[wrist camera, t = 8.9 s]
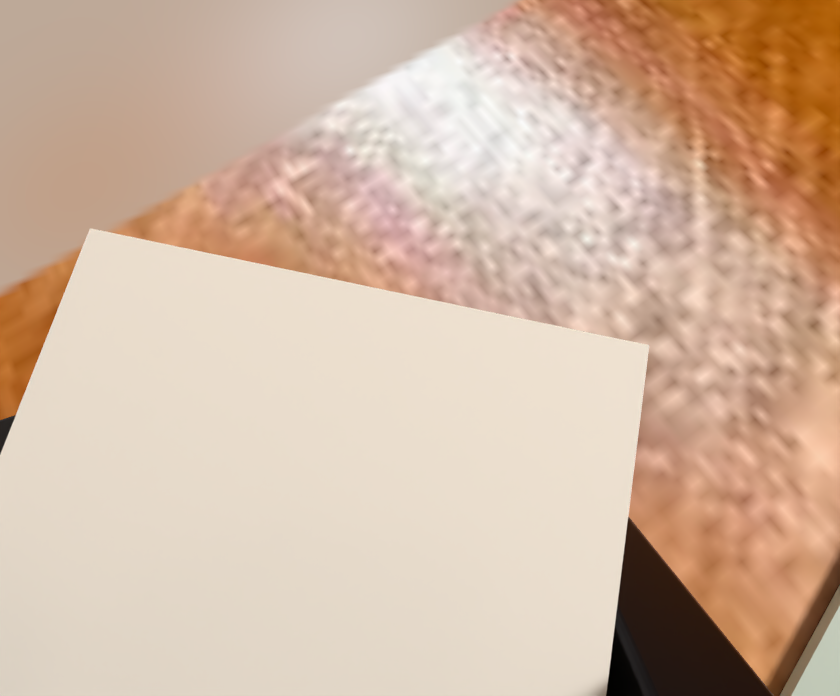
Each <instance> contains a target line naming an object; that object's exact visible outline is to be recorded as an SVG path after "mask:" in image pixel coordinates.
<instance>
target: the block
mask: <svg viewBox="0 0 840 696" xmlns="http://www.w3.org/2000/svg"><path fill="white" fill-rule="evenodd" d="M648 351H649V345H646V344H641V343H636V342H631V341H627V340H622V339H617V338H612V337H607V336H603V335H598V334H593V333H588V332H584V331H579V330H574V329H569V328H564V327H560V326H555V325H550V324H545V323H540V322H536V321H531V320H526V319H521V318H517V317H512V316H507V315H502V314H497V313H493V312H488V311H483V310H478V309H473V308H469V307H464V306H459V305H454V304H450V303H445V302H440V301H435V300H430V299H426V298H421V297H416V296H411V295H406V294H402V293H397V292H392V291H387V290H383V289H378V288H373V287H368V286H363V285H359V284H354V283H349V282H344V281H339V280H335V279H330V278H325V277H320V276H316V275H311V274H306V273H301V272H296V271H292V270H287V269H282V268H277V267H272V266H268V265H263V264H258V263H253V262H249V261H244V260H239V259H234V258H229V257H225V256H220V255H215V254H210V253H205V252H201V251H196V250H191V249H186V248H181V247H177V246H172V245H167V244H162V243H158V242H153V241H148V240H143V239H138V238H134V237H129V236H124V235H119V234H114V233H110V232H105V231H100V230H95V229H90V230H89V233H88V235H87V237H86V240H85V242H84V245H83V247H82V250H81V252H80V255H79V258H78V260H77V263H76V265H75V268H74V270H73V273H72V275H71V278H70V280H69V283H68V285H67V288H66V290H65V293H64V295H63V298H62V300H61V303H60V305H59V308H58V310H57V313H56V315H55V318H54V320H53V323H52V326H51V328H50V331H49V333H48V336H47V338H46V341H45V343H44V346H43V348H42V351H41V353H40V356H39V358H38V361H37V363H36V366H35V368H34V371H33V373H32V376H31V378H30V381H29V383H28V386H27V388H26V391H25V394H24V396H23V399H22V401H21V404H20V406H19V409H18V411H17V414H16V416H15V419H14V421H13V424H12V426H11V429H10V431H9V434H8V436H7V439H6V441H5V444H4V446H3V449H2V451H1V454H0V696H606V693H607V685H608V677H609V669H610V661H611V653H612V644H613V636H614V628H615V620H616V612H617V604H618V596H619V587H620V579H621V571H622V563H623V555H624V547H625V539H626V530H627V522H628V514H629V506H630V498H631V490H632V482H633V473H634V465H635V457H636V449H637V441H638V433H639V425H640V416H641V408H642V400H643V392H644V384H645V376H646V368H647V359H648Z"/></svg>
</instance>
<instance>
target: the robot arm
mask: <svg viewBox="0 0 840 696" xmlns="http://www.w3.org/2000/svg"><path fill="white" fill-rule="evenodd" d="M15 416H16V415H15ZM15 416H12V417H9V418H6V419H3V420H0V454H1V451H2V449H3V446H4V444H5V441H6V439H7V436H8V434H9V431H10V429H11V426H12V424H13V421H14V419H15ZM606 696H774V695H773V694H772V693H771V692H770V690H769V689H768V688H767V687H766V685H765V684H764V683H763V682H762V681H761V679H760V678H759V677H758V676H757V674H756V673H755V672H754V671H753V669H752V668H751V667H750V666H749V665H748V663H747V662H746V661H745V660H744V658H743V657H742V656H741V655H740V653H739V652H738V651H737V650H736V649H735V647H734V646H733V645H732V644H731V642H730V641H729V640H728V639H727V637H726V636H725V635H724V634H723V632H722V631H721V630H720V629H719V628H718V626H717V625H716V624H715V623H714V621H713V620H712V619H711V618H710V616H709V615H708V614H707V613H706V612H705V610H704V609H703V608H702V607H701V605H700V604H699V603H698V602H697V600H696V599H695V598H694V597H693V596H692V594H691V593H690V592H689V591H688V589H687V588H686V587H685V586H684V584H683V583H682V582H681V581H680V579H679V578H678V577H677V576H676V575H675V573H674V572H673V571H672V570H671V568H670V567H669V566H668V565H667V563H666V562H665V561H664V560H663V559H662V557H661V556H660V555H659V554H658V552H657V551H656V550H655V549H654V547H653V546H652V545H651V544H650V543H649V541H648V540H647V539H646V538H645V536H644V535H643V534H642V533H641V531H640V530H639V529H638V528H637V526H636V525H635V524H634V523H633V522H632V520H631V519H630V518H629V517H628V522H627V530H626V539H625V547H624V555H623V563H622V571H621V579H620V587H619V596H618V604H617V612H616V620H615V628H614V636H613V644H612V653H611V661H610V669H609V677H608V685H607V693H606Z"/></svg>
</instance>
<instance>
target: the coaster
mask: <svg viewBox="0 0 840 696" xmlns="http://www.w3.org/2000/svg"><path fill="white" fill-rule="evenodd" d="M780 696H840V585H839V587H838V589H837V591H836V593H835V594H834V596H833V598H832V600H831V602H830V604H829V605H828V607H827V609H826V611H825V613H824V615H823V617H822V618H821V620H820V622H819V624H818V626H817V628H816V629H815V631H814V633H813V635H812V637H811V639H810V641H809V642H808V644H807V646H806V648H805V650H804V652H803V653H802V655H801V657H800V659H799V661H798V663H797V665H796V666H795V668H794V670H793V672H792V674H791V676H790V677H789V679H788V681H787V683H786V685H785V687H784V688H783V690H782V692H781V694H780Z"/></svg>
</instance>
